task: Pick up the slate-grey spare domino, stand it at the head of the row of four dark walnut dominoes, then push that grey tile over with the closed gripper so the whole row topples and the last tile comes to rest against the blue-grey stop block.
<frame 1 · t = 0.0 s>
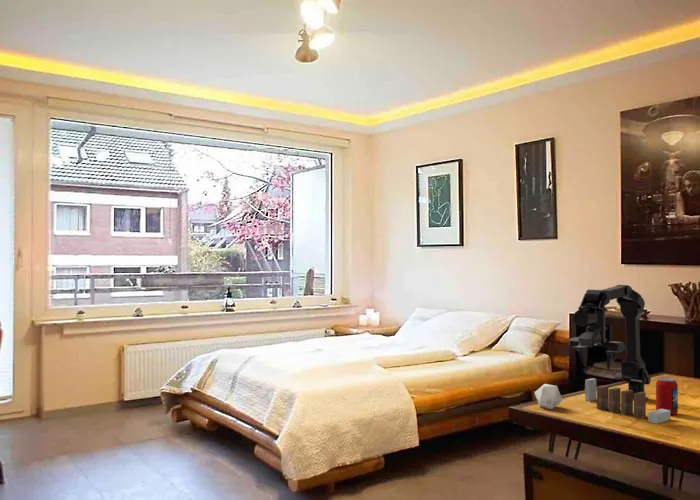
hand: (596, 368, 219), 15 cm above the table, fingers open, 9 cm apart
beverage can: (666, 413, 213), on the table
tile4: (639, 416, 209), on the table
tile3: (627, 413, 212), on the table
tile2: (614, 411, 216), on the table
stop block: (659, 420, 203), on the table
die: (548, 407, 221), on the table
spare: (590, 400, 233), on the table
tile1: (602, 408, 219), on the table
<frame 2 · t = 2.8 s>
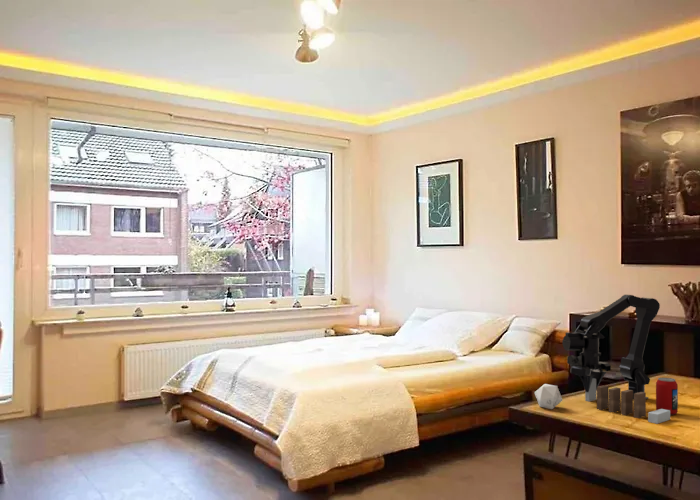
hand: (590, 390, 233), 4 cm above the table, fingers closed on spare, 5 cm apart
spare: (590, 400, 233), on the table, touching gripper
everything else where it was.
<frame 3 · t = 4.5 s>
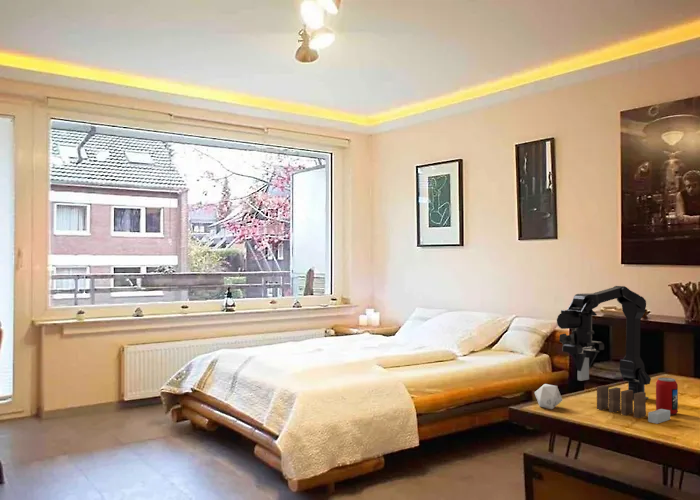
hand: (583, 370, 226), 13 cm above the table, fingers closed on spare, 5 cm apart
spare: (583, 379, 226), point 9 cm above the table, touching gripper
everything else where it was.
when the fingers open (4 cm above the table, at t = 6.4 s): spare drops 1 cm, on the table.
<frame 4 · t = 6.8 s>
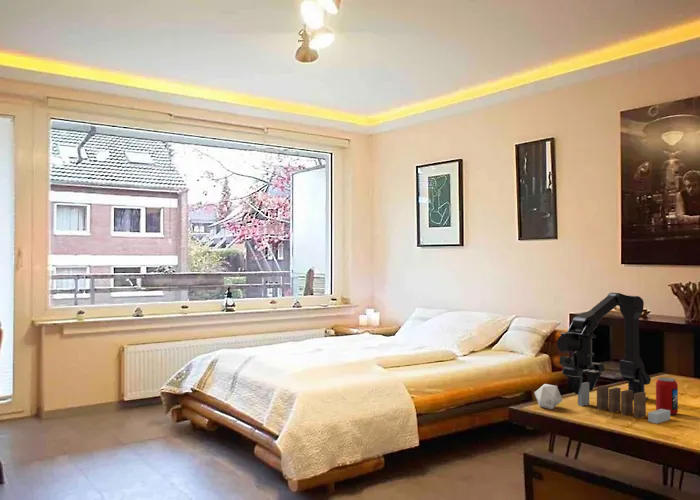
hand: (583, 392, 225), 4 cm above the table, fingers open, 9 cm apart
spare: (583, 404, 225), on the table
everything else where it was.
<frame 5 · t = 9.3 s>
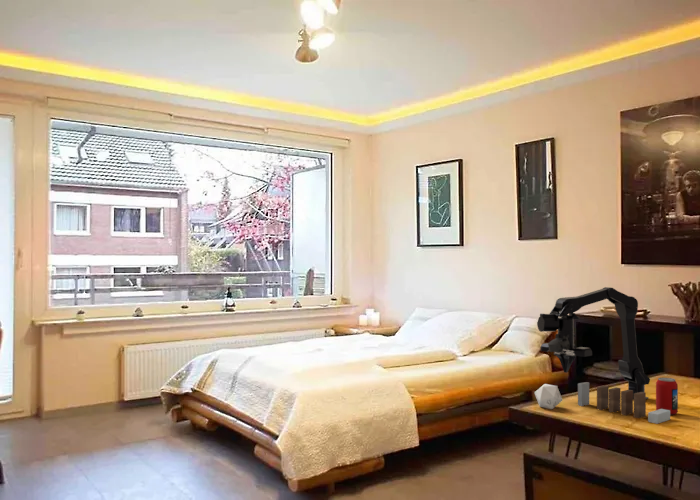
hand: (565, 372, 231), 11 cm above the table, fingers closed
nothing on the table moved.
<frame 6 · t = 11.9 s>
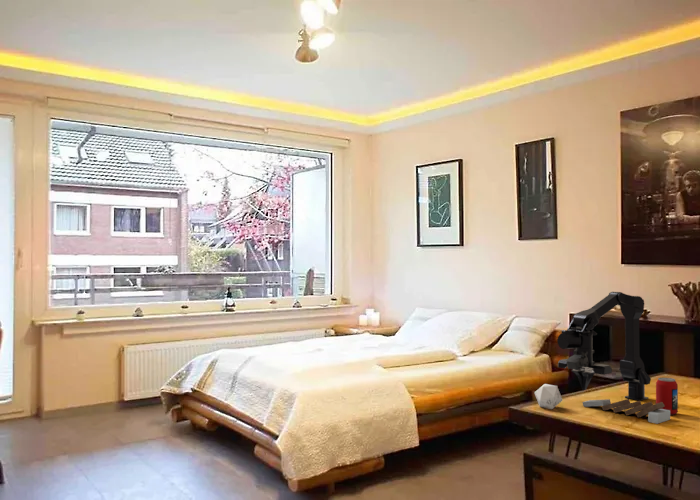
hand: (584, 389, 225), 6 cm above the table, fingers closed
tile4: (640, 414, 208), point 1 cm above the table, tilted 56°, touching stop block, tile3
tile3: (629, 412, 212), point 1 cm above the table, tilted 61°, touching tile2, tile4
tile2: (617, 409, 215), point 1 cm above the table, tilted 65°, touching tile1, tile3
spare: (586, 403, 224), point 1 cm above the table, tilted 77°, touching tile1
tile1: (606, 407, 218), point 1 cm above the table, tilted 65°, touching spare, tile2
everything else where it was.
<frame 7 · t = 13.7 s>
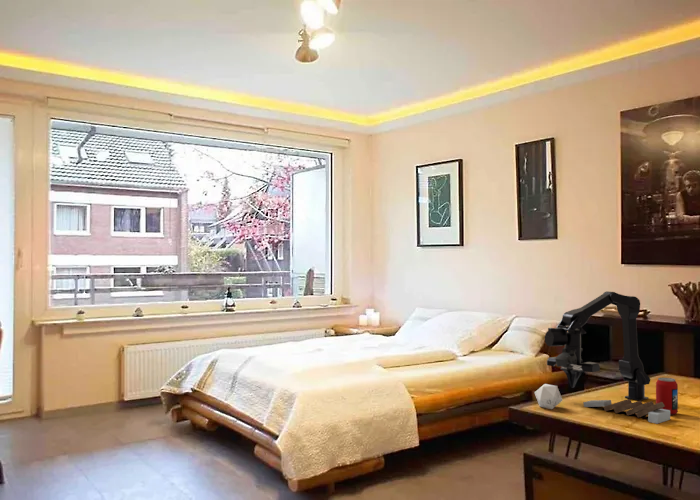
hand: (572, 387, 229), 6 cm above the table, fingers closed
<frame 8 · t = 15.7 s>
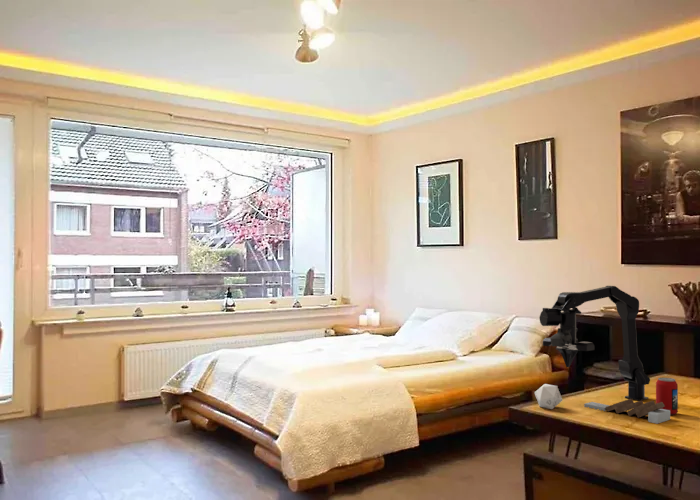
hand: (567, 367, 231), 13 cm above the table, fingers closed
spare: (588, 404, 224), on the table, tilted 90°
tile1: (609, 408, 217), point 1 cm above the table, tilted 63°, touching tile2
at the end: tile4 tilted 56°; spare tilted 90° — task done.
